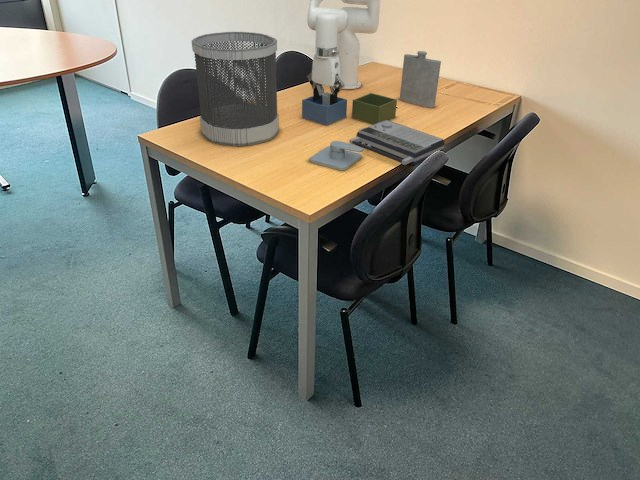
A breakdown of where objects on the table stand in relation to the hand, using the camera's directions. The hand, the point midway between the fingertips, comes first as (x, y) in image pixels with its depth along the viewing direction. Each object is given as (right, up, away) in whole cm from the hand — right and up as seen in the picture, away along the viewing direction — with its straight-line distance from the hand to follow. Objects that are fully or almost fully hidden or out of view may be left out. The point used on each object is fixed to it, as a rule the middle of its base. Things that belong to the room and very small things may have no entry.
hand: (324, 101), depth 191 cm
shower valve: (+4, -26, -29) cm, 39 cm away
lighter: (0, -2, +1) cm, 2 cm away
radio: (+23, -21, -20) cm, 37 cm away
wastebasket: (-29, -13, -11) cm, 34 cm away
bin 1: (0, -5, +3) cm, 6 cm away
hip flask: (+37, +4, +20) cm, 42 cm away
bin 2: (+18, -5, +4) cm, 19 cm away
